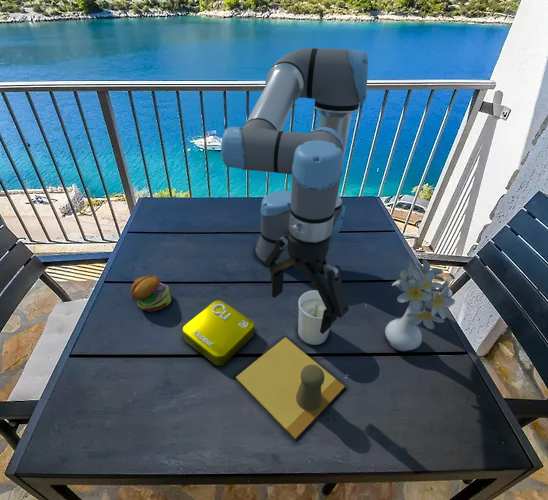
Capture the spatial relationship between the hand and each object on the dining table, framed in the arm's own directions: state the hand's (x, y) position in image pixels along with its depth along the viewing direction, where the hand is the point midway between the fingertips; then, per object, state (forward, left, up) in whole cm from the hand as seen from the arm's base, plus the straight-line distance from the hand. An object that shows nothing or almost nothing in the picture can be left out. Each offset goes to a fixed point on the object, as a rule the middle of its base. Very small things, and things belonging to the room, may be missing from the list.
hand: (300, 310), depth 75 cm
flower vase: (-28, +15, -22) cm, 39 cm away
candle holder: (-13, -4, -22) cm, 26 cm away
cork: (+3, +8, -22) cm, 23 cm away
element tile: (+7, -21, -22) cm, 32 cm away
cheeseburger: (+14, -45, -22) cm, 52 cm away
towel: (+3, +2, -22) cm, 23 cm away
